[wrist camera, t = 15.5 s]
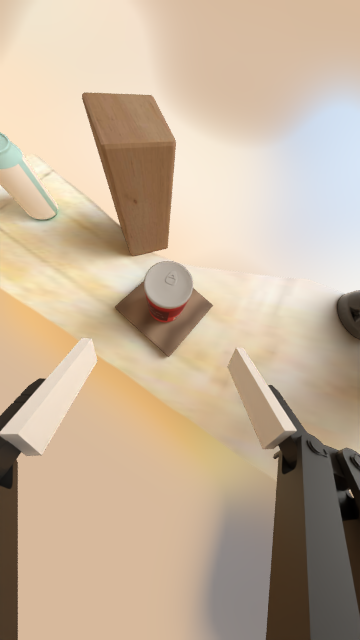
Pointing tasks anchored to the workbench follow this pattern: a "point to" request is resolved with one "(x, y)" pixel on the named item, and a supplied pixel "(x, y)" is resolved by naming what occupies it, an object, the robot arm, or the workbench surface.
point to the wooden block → (135, 164)
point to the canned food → (167, 290)
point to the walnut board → (163, 332)
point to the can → (24, 182)
